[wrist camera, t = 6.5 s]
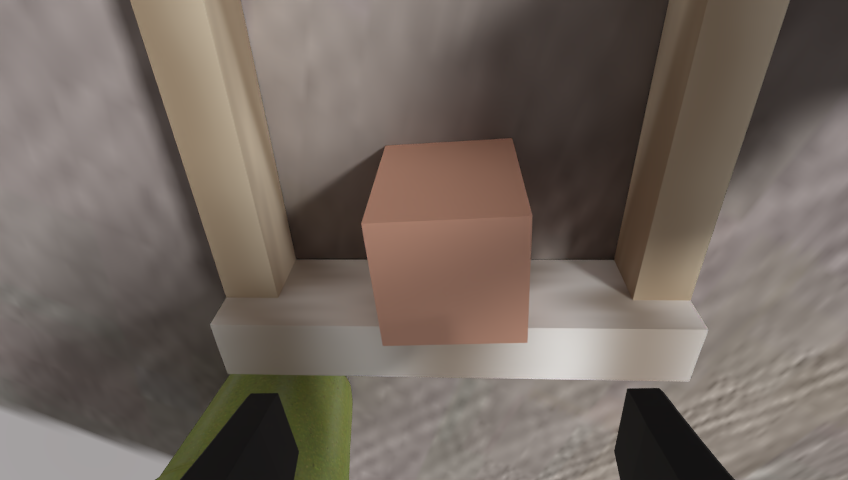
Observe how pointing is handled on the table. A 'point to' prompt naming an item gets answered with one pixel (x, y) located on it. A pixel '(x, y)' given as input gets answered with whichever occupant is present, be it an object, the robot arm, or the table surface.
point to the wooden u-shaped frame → (549, 279)
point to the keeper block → (450, 244)
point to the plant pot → (307, 415)
